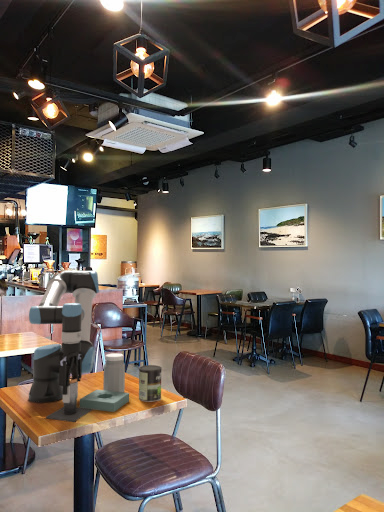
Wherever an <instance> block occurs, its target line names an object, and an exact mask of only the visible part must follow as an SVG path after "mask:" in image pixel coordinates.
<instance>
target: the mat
mask: <svg viewBox="0 0 384 512" xmlns="http://www.w3.org/2000/svg"><path fill="white" fill-rule="evenodd" d="M92 411H94V409H86V408H80V407H77V412H76V413H74V414H64V406H63V407H61V408H59V409H57V410H55V411H53V412H52V413H50V414H48V415H47V416H45V419H48V420H56V421H61V422H63V421H64V422H69V423H70V422H71V423H76V422H77V421H78V420H79V419H81V418H82V417H84V416H85V415H87V414H89V413H90V412H92Z"/></svg>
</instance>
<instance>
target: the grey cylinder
mask: <svg viewBox="0 0 384 512" xmlns="http://www.w3.org/2000/svg"><path fill="white" fill-rule="evenodd" d="M68 386H70V402H69V403H65V402H63V407H64V414H74V413H76V412H77V408H78V405H77V404H78V398H77V378H72V377H70V379H69V385H68Z"/></svg>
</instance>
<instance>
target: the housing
mask: <svg viewBox="0 0 384 512" xmlns="http://www.w3.org/2000/svg"><path fill="white" fill-rule="evenodd" d="M129 402H130V392H125V391H124V392H115V391H105V390H103V389H95V390H94V391H91V392H90V393H88V394H86V395H84V396H83V397H81V398H79V408H85V409H93V411H95V410H96V411H104V412H111V413H112V412H114V413H115V412H116V411H117V410H119V409H120V408H122V407H123V406H124V405H126V404H127V403H129Z"/></svg>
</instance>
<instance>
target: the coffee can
mask: <svg viewBox="0 0 384 512" xmlns="http://www.w3.org/2000/svg"><path fill="white" fill-rule="evenodd" d="M162 370H163V369H162V366H159V365H154V364H153V365H151V364H149V365H141V366H139V367H138V400H140V401H141V402H146V403H147V402H148V403H150V402H151V403H152V402H160V401H161V400H162Z"/></svg>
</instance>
